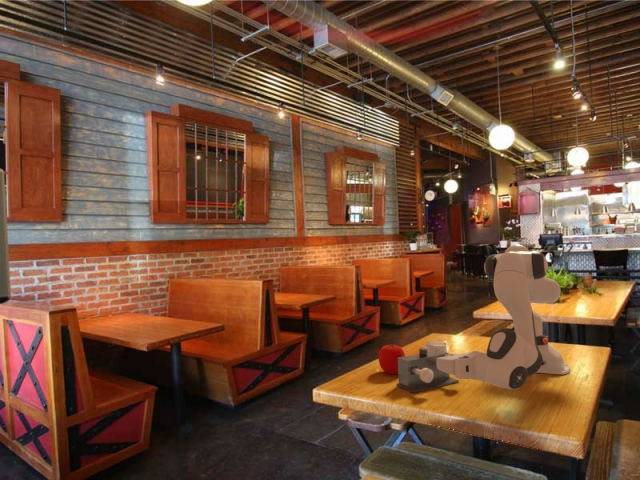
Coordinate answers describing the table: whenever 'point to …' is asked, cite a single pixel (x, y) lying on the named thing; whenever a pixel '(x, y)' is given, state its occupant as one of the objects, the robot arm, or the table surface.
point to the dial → (423, 351)
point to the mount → (413, 380)
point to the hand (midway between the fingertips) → (447, 356)
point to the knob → (424, 374)
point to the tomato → (390, 358)
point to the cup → (436, 346)
